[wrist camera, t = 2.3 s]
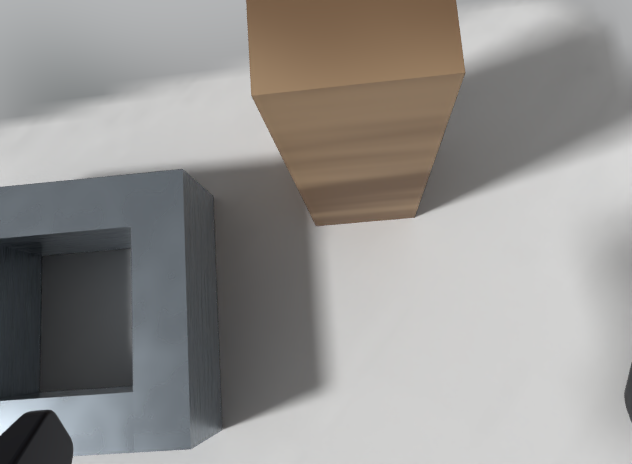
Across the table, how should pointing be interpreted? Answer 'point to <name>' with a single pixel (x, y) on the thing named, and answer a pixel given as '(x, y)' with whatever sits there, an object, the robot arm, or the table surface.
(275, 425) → the table surface
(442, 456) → the table surface
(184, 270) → the square collar
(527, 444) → the table surface
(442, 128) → the walnut peg
